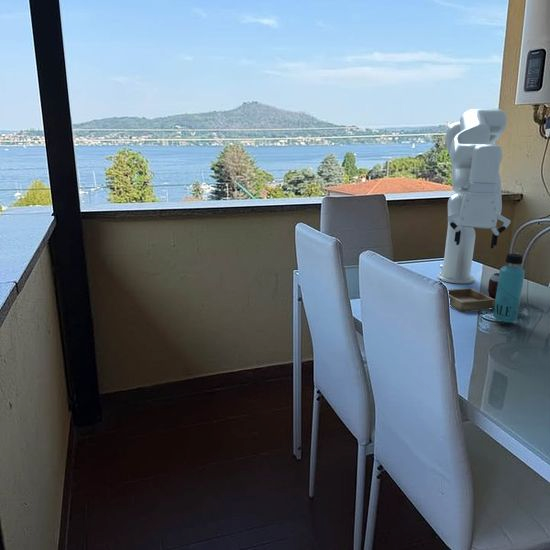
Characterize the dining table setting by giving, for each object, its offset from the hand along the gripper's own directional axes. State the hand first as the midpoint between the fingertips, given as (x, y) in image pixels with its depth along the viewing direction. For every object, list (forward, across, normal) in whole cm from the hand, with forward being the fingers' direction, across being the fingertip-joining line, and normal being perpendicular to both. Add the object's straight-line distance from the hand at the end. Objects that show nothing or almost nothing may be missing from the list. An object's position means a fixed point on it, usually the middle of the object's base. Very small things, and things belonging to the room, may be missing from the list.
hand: (474, 245), depth 139 cm
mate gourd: (+19, +9, +11) cm, 24 cm away
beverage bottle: (+19, +11, -11) cm, 25 cm away
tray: (+19, 0, 0) cm, 19 cm away
